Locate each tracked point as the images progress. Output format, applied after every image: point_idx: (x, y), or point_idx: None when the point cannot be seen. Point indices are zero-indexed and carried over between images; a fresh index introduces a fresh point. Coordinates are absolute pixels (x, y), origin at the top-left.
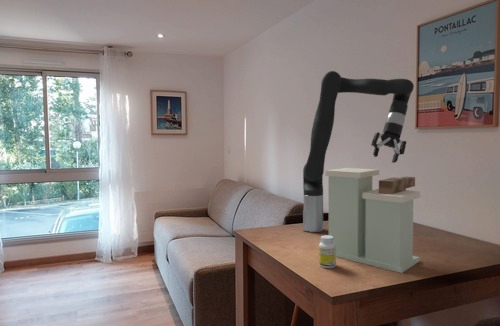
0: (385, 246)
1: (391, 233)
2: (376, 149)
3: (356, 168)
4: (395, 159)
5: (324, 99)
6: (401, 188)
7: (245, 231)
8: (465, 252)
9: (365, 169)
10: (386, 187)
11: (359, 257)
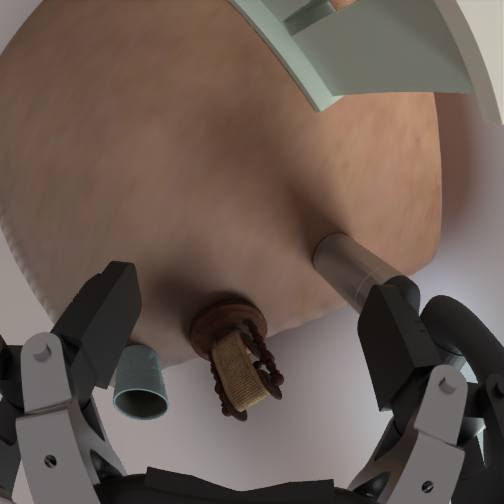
0: None
1: None
2: (429, 354)
3: (488, 67)
4: (109, 278)
5: None
6: None
7: (430, 252)
8: (61, 31)
9: (471, 3)
10: None
11: (334, 11)
